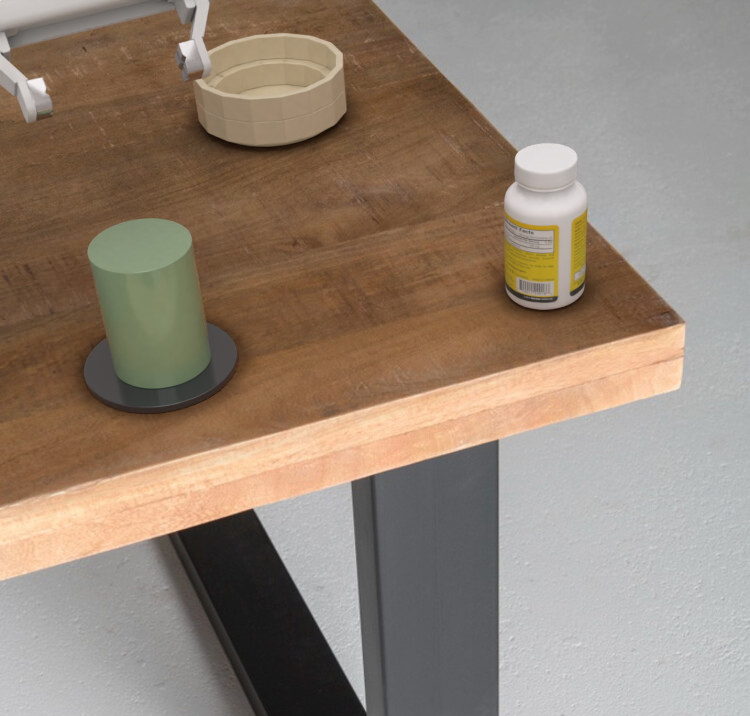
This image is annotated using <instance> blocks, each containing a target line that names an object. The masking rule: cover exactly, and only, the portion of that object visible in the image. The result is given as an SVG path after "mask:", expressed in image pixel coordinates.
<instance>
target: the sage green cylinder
mask: <svg viewBox="0 0 750 716" xmlns="http://www.w3.org/2000/svg"><path fill="white" fill-rule="evenodd" d="M86 253H87V259H88V263H89V267H90V272H91V276H92V281H93V285H94V289H95V294H96V298H97V302H98V306H99V312H100V315H101V320H102V325H103V329H104V334H105V338H107V342H108V347H109V351H110V355H111V360H112V364H113V368H114V371H115V373H116V375H117V376H118V377H119V378H120V379H121V380H122V381H123V382H125V383H127V384H129V385H132V386H135V387H139V388H147V389H159V388H167V387H172V386H176V385H179V384H182V383H185V382H187V381H189V380H191V379H193V378H195V377H196V376H198V375H199V374H200V373H202V372H203V371H204V370H205V368H206V367H207V366H208V364H209V362H210V360H211V347H210V341H209V335H208V329H207V324H206V322H207V318H206V311H205V306H204V301H203V300H204V299H203V295H202V290H201V283H200V278H199V277H200V276H199V271H198V266H197V258H196V254H195V248H194V241H193V237H192V234H191V231H189V229H188V228H187V227H185V226H184V225H182V224H181V223H178V222H176V221H173V220H170V219H166V218H158V217H157V218H155V217H153V218H152V217H150V218H146V217H145V218H137V219H131V220H126V221H122V222H119V223H117V224H114V225H112V226H109V227H108V228H105V229H103V230H102V231H101V232H99V233H98V234H97V235H96V236H94V237H93V238H92V240H91V241H90V243H89V244H88V247H87V252H86Z"/></svg>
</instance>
